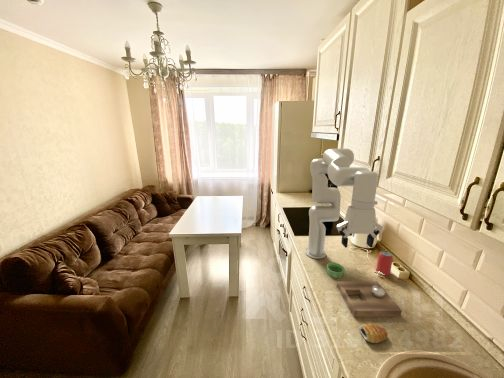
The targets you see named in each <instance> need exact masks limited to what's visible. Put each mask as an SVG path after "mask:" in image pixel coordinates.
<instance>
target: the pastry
mask: <svg viewBox="0 0 504 378" xmlns="http://www.w3.org/2000/svg"><path fill="white" fill-rule="evenodd" d="M358 330H359V331H360V332H359V333H360V334H361V335H362V337H363V338H364V340H365V341H367V342H369V343H370V344H378V343H381V342H383V341H385V340H387V339H388V332H387V330H386V329H385V328H384V327H383V326H379V325H376V324H374V323H363V324H362V325H360V326H358Z"/></svg>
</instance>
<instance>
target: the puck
mask: <svg viewBox="0 0 504 378" xmlns="http://www.w3.org/2000/svg"><path fill="white" fill-rule="evenodd" d="M380 286H381V285H380ZM380 286H377V285H374V286H372V291H371V294H372V295H373V296H374V297H376V298H378V299H383V298H384V293H385V291H386V290H385V289H384V287H382V286H381V287H380Z"/></svg>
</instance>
